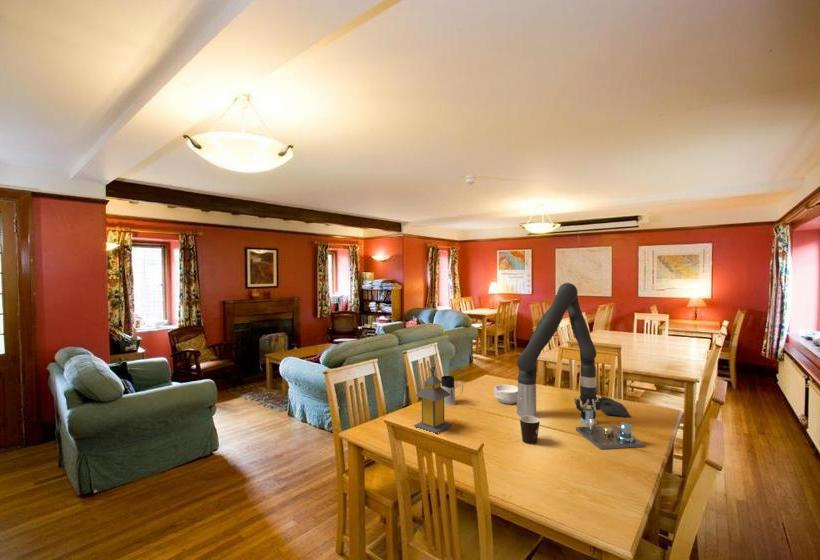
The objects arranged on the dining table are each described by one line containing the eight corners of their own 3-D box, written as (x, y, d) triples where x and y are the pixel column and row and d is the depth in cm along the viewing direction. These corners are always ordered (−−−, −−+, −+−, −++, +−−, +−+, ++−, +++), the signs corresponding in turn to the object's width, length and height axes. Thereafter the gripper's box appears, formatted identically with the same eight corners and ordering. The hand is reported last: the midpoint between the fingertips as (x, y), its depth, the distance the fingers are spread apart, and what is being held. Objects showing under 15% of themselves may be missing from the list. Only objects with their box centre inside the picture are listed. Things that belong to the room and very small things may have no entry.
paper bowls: (524, 405, 219) (523, 391, 218) (497, 405, 219) (497, 392, 219) (516, 396, 234) (516, 384, 234) (491, 397, 234) (491, 384, 234)
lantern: (453, 426, 191) (452, 366, 191) (435, 435, 181) (434, 371, 180) (431, 419, 201) (430, 361, 200) (413, 427, 191) (412, 367, 190)
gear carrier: (600, 449, 164) (600, 430, 164) (575, 430, 184) (575, 413, 184) (644, 446, 166) (644, 428, 166) (615, 428, 186) (615, 411, 186)
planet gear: (585, 426, 189) (585, 412, 189) (576, 419, 197) (576, 407, 197) (600, 425, 190) (600, 411, 190) (591, 419, 197) (591, 406, 197)
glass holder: (445, 399, 231) (445, 374, 231) (466, 403, 223) (466, 378, 222) (437, 403, 224) (437, 378, 224) (459, 408, 216) (459, 381, 215)
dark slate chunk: (601, 416, 202) (601, 407, 202) (592, 402, 223) (592, 394, 223) (633, 419, 198) (633, 410, 198) (621, 404, 219) (621, 396, 219)
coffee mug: (529, 447, 167) (529, 424, 167) (515, 439, 175) (515, 417, 175) (548, 441, 173) (548, 419, 173) (534, 434, 180) (534, 413, 180)
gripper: (578, 387, 188) (578, 422, 189) (606, 386, 190) (606, 420, 190) (570, 383, 196) (570, 416, 196) (597, 382, 197) (597, 415, 198)
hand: (588, 418), depth 193 cm, fingers closed on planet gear, 4 cm apart
